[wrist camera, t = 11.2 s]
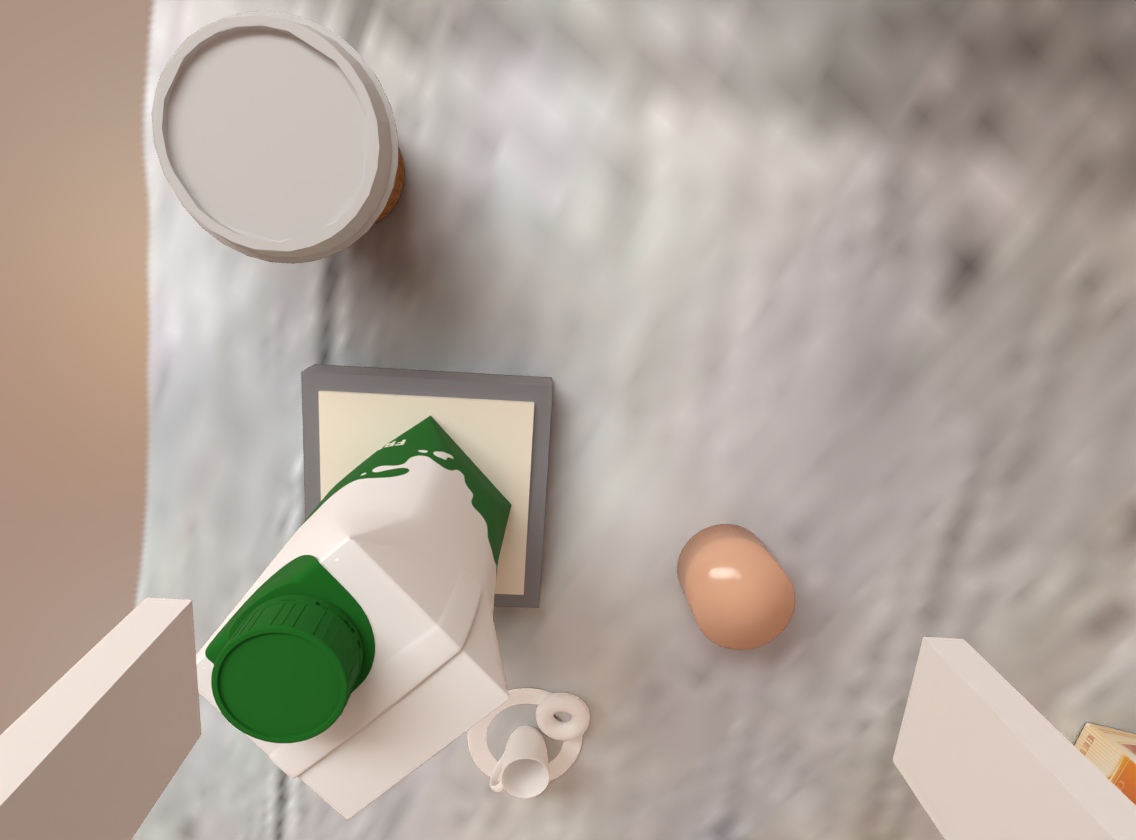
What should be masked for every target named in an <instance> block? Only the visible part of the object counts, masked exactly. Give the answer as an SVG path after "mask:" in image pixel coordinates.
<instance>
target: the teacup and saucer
mask: <svg viewBox="0 0 1136 840" xmlns="http://www.w3.org/2000/svg"><path fill="white" fill-rule="evenodd" d="M508 694H509V699H508V700H507V701H506V702H505V703H503V704H502V705H501V706H499V707H498V708H497V709H495V710H494V711H493V712H491V713H490V714H489V715H487V716H486V717H485V718H483V719H482V720H481V721H479V722H478V723H477V724H475V725H474V726H473V727H471V728H470V729H469V730H468V748H469V751H470V754H471V757H472V759H473V760H474V762H475V764H476V765H477V766H478V767H479V769H480V770H481V771H482V772H484V773H485V774H486V775H487V776H489V777H490V787H491V789H492V790H493V791H494V792H501V791H503V790H504V789H505V790H506V791H507V792H508V793H509V794H510V795H512V796H514V797H517V798H532V797H535V796H537V795H539V794H540V793H542V792H543V791H544V790H545V789H546V787H547V786H548V783H549V782H550V781H552V780H554V779H556V778H557V777H559V776H561V775H562V774H563V773H565V772H566V771H567V770H568V769H569V768H570V767H571V766H572V764H573V763H574V762H575V760H576V759H577V757H578V755H579V752H580V750H581V746H582V741H583V733H584V732H585V731H586V730H587V728H588V726H589V723H590V713H589V710H588V708H587V706H586V704H585V703H584V702H583V701H582V700H581V699H580V698H579V697H577V696H575V695H573V694H570V693H565V692H559V693H551V692H548V691H545V690H541V689H535V688H518V689H512V690H508ZM517 704H535V705H538V707H537V710H536V721H537V724H538V726H539V728H540V729H541V731H542V732H543V733H544V734H546V735H547V736H548V737H550V738H552V739H556V740H562V741H564V743H563V746H562V749H561V751H560V752H559V754H558V755H557V756H556V757H555V758H554V759H553V760H552V761H551V762H550V763H548V755H547V749H546V745H545V741H544V738H543V736H542V735H541V733H540V732H539V731H538V730H537V729H536V728H534V727H532V726H521V727H518V728H517V729H515V730H514V731H513V733H512V734H511V735H510V737H509V739H508V742H507V744H506V748H505V752H504V754H503V756H502V757H501V758H500V760H499V761H497V760H496V759H495V758H494V757H493V756H492V754H491V753H490V751H489V749H488V746H487V742H486V734H487V729H488V727H489V724H490V723H491V721H492V720H493V718H494V717H495V716H496V715H497V714H498V713H500V712H501V711H502V710H504V709H506V708H508V707H510V706H513V705H517ZM554 714H555V715H556V716H557V717H558V719H559V720H560V721H559V720H557V719H555V717H554ZM497 781H498V782H499V783H498V784H497V785H496V782H497Z"/></svg>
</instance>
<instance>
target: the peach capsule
mask: <svg viewBox="0 0 1136 840" xmlns="http://www.w3.org/2000/svg"><path fill="white" fill-rule="evenodd" d="M677 574H678V579H679V582H680V585H681V587H682V589H683V592H684V594H685V596H686V598H687V601H688V603H689V605H690V607H691V610H692V612H693V614H694V616H695V619H696V621H697V623H698V625H699V627H700V629H701V631H702V632H703V633H704V634H705V636H706V637H707V638H709V639H710V640H711V641H712V642H714V643H715V644H717V645H719V646H722V647H725V648H729V649H735V650H746V649H752V648H756V647H759V646H762V645H764V644H766V643H768V642H770V641H771V640H773V639H774V638H776V637H777V636H778V635H779V634H780V633H781V632H782V631H783V630H784V629H785V627H786V626H787V624H788V623H789V621H790V619H791V617H792V614H793V611H794V607H795V592H794V588H793V585H792V583H791V581H790V579H789V577H788V576H787V575H786V573H785V572H784V571H783V569H782V568H781V567H780V566H779V564H778V563H777V562H776V560H775V559H774V558H773V557H772V555H771V554H770V553H769V551H768V550H767V549H766V548H765V546H764V545H763V544H762V542H761V541H760V540H759V539H758V538H757V537H756V536H755V535H754V534H753V533H752V532H750V531H749V530H747V529H745V528H743V527H740V526H736V525H730V524H721V525H715V526H711V527H708V528H706V529H704V530H702V531H700V532H698V533H697V534H696V535H694V536H693V537H692V538H691V539H690V540H689V541H688V542H687V543H686V545H685V546H684V548H683V549H682V551H681V553H680V556H679V559H678V564H677Z"/></svg>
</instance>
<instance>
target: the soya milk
mask: <svg viewBox="0 0 1136 840" xmlns="http://www.w3.org/2000/svg"><path fill="white" fill-rule="evenodd" d="M511 506H512V505H511V503H510V502H509V501H508V500H507V499H506V498H505V497H504V496H503V495H502V494H501V492H500V491H499V490H498V489H497V488H496V487H495V486H494V485H493V484H492V483H491V481H490V480H489V479H488V478H487V477H486V476H485V475H484V474H483V473H482V471H481V470H480V469H479V468H478V467H477V466H476V465H475V464H474V463H473V462H472V460H471V459H470V458H469V457H468V456H467V455H466V454H465V453H464V452H463V450H462V449H461V448H460V447H459V446H458V445H457V444H456V443H455V442H454V441H453V439H452V438H451V437H450V436H449V435H448V434H447V433H446V432H445V431H444V429H443V428H442V427H441V426H440V425H439V424H438V423H437V422H436V421H435V420H434V418H433V417H432V416H431V415H430V416H429V417H427V418H426V419H424V420H423V421H421V422H420V423H418V424H417V425H415V426H414V427H412V428H411V429H409V430H407V431H406V432H404V433H403V434H401V435H400V436H398V437H397V438H395V439H394V440H392V441H391V442H389V443H388V444H386V445H385V446H383V447H382V448H380V449H379V450H377V451H376V452H375V453H373V454H372V455H371V456H370V457H368V458H367V459H366V460H365V461H363V462H362V463H361V464H360V465H359V466H357V467H356V468H355V469H354V470H353V471H351V472H350V473H349V474H348V475H347V476H345V477H344V478H343V479H342V480H341V481H340V482H338V483H337V484H336V485H335V486H334V487H333V488H332V489H331V490H330V491H329V492H328V494H327V495H326V496H325V497H324V498H323V500H322V501H321V502H320V503H319V504H318V506H317V507H316V508H315V509H314V511H313V512H312V513H311V514H310V515H309V517H308V518H307V519H306V520H305V522H304V523H303V524H302V525H301V526H300V528H299V529H298V530H297V531H296V533H295V534H294V535H293V536H292V537H291V539H290V540H289V541H288V542H287V544H286V545H285V546H284V547H283V548H282V550H281V551H280V552H279V553H278V555H277V556H276V557H275V558H274V560H273V561H272V562H271V563H270V565H269V566H268V567H267V568H266V570H265V571H264V572H263V573H262V575H261V576H260V577H259V578H258V580H257V581H256V582H255V583H254V585H253V586H252V587H251V588H250V590H249V591H248V592H247V593H246V595H245V596H244V597H243V598H242V599H241V601H240V602H239V603H238V604H237V606H236V607H235V608H234V609H233V611H232V612H231V613H230V614H229V616H228V617H227V618H226V619H225V620H224V622H223V623H222V624H221V625H220V627H219V628H218V629H217V630H216V631H215V633H214V634H213V635H212V636H211V638H210V639H209V640H208V641H207V642H206V644H205V645H204V646H203V647H202V649H201V650H200V651H199V652H198V653H197V655H196V665H197V679H198V692H199V693H200V694H201V695H202V696H203V697H204V698H205V699H206V700H207V701H209V702H210V703H211V704H212V705H213V706H214V707H215V708H216V709H217V710H219V711H220V712H221V713H222V714H223V715H224V717H225V718H226V719H227V720H228V721H229V722H230V723H231V724H232V725H233V726H235V727H236V728H237V729H239V730H240V731H242V732H243V733H244V734H245V735H246V736H247V737H249V738H250V739H251V740H252V741H253V742H254V743H255V744H256V745H257V746H259V747H260V748H261V749H262V750H263V751H264V752H265V753H267V754H268V755H269V758H270V759H271V760H272V761H273V762H274V763H275V764H276V765H277V766H278V767H279V768H280V769H281V770H282V771H284V772H285V773H286V774H287V775H288V776H290V777H291V778H296V777H297V776H298V777H299V778H300V779H301V780H302V781H303V782H304V783H305V784H307V785H308V786H309V787H310V788H311V789H312V790H313V791H315V792H316V793H317V794H318V795H319V796H320V797H321V798H322V799H324V800H325V801H326V802H327V803H328V804H329V805H330V806H332V807H333V808H334V809H335V810H336V811H337V812H338V813H340V814H341V815H342V816H343V817H344V818H345V819H347V820H349V819H350V818H351V817H353V816H354V815H355V814H357V813H358V812H359V811H361V810H362V809H363V808H365V807H366V806H367V805H369V804H370V803H371V802H373V801H374V800H375V799H377V798H378V797H379V796H381V795H382V794H383V793H385V792H386V791H387V790H389V789H390V788H391V787H393V786H394V785H395V784H397V783H398V782H399V781H401V780H402V779H403V778H405V777H406V776H407V775H409V774H410V773H411V772H413V771H414V770H415V769H417V768H418V767H419V766H421V765H422V764H423V763H425V762H426V761H427V760H429V759H430V758H431V757H433V756H434V755H435V754H437V753H438V752H439V751H441V750H442V749H443V748H445V747H446V746H447V745H449V744H450V743H451V742H453V741H454V740H455V739H457V738H458V737H459V736H461V735H462V734H463V733H465V732H466V731H467V730H469V729H470V728H471V727H473V726H474V725H475V724H477V723H478V722H479V721H481V720H482V719H483V718H485V717H486V716H487V715H489V714H490V713H491V712H493V711H494V710H495V709H497V708H498V707H499V706H501V705H502V704H503V703H505V702H506V701H507V700H508V699H509V694H508V689H507V685H506V680H505V675H504V670H503V665H502V660H501V656H500V651H499V646H498V641H497V636H496V631H495V626H494V621H493V609H494V599H495V589H496V579H497V570H498V560H499V555H500V551H501V547H502V543H503V539H504V534H505V530H506V526H507V522H508V518H509V514H510V509H511Z"/></svg>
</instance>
